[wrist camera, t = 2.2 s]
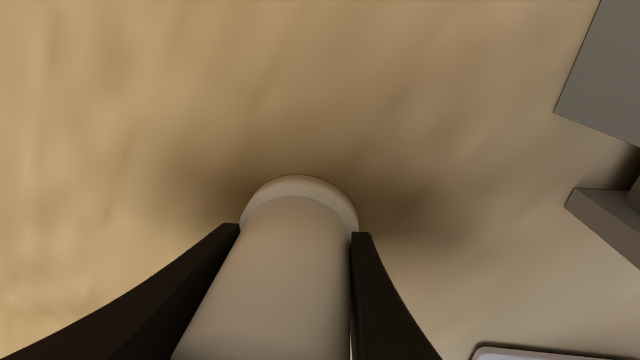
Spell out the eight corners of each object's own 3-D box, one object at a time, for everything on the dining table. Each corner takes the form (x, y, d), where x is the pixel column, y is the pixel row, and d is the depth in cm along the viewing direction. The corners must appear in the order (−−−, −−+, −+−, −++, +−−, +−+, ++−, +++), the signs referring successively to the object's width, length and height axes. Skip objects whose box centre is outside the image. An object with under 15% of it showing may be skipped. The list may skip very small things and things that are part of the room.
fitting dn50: (355, 268, 12) (356, 442, 7) (254, 260, 13) (187, 418, 8) (362, 177, 10) (373, 338, 5) (239, 172, 10) (125, 312, 5)
